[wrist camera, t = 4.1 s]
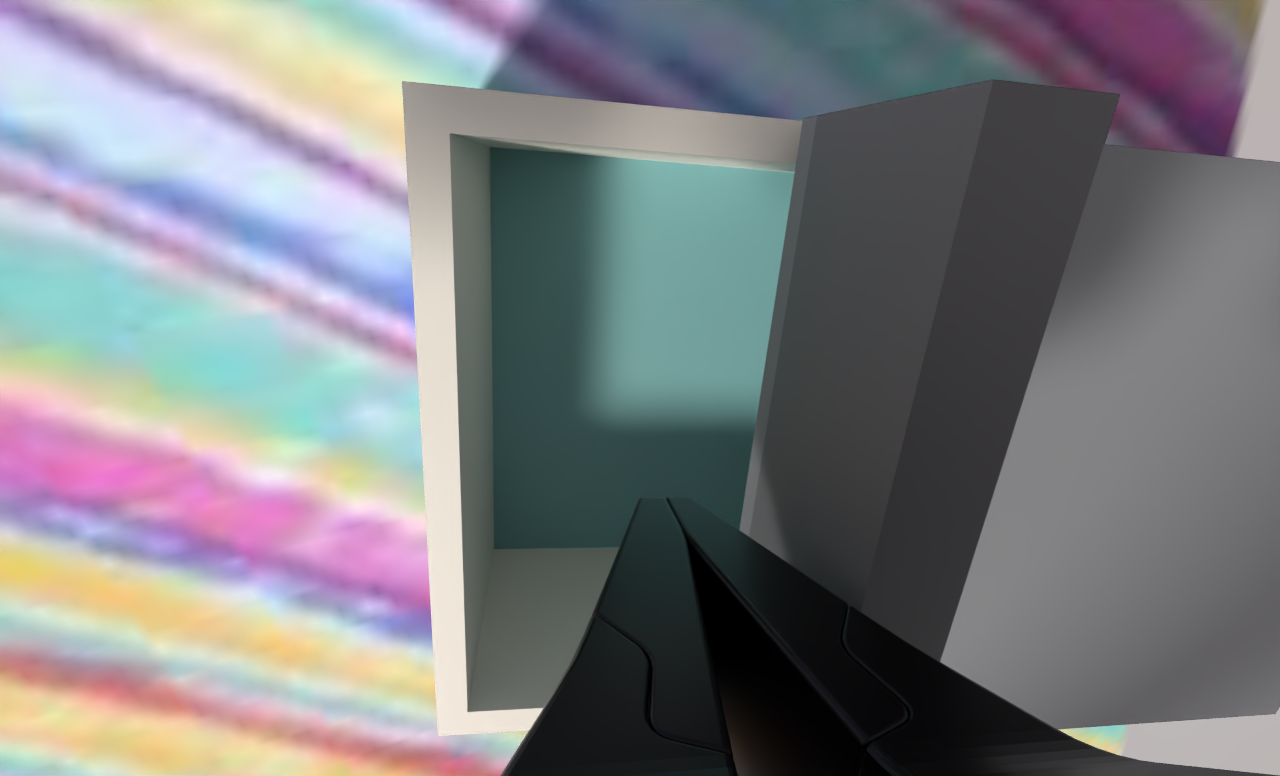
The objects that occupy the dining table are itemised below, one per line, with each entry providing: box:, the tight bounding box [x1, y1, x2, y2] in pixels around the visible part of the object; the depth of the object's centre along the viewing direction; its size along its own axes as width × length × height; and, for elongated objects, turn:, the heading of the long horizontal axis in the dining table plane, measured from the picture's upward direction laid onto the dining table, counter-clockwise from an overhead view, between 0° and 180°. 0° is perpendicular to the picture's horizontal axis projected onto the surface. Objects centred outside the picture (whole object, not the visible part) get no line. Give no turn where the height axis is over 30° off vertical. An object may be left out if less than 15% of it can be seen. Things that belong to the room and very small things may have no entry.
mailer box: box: [402, 81, 803, 736], centre depth 14 cm, size 12×14×6 cm
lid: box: [739, 80, 1280, 729], centre depth 10 cm, size 12×14×4 cm
